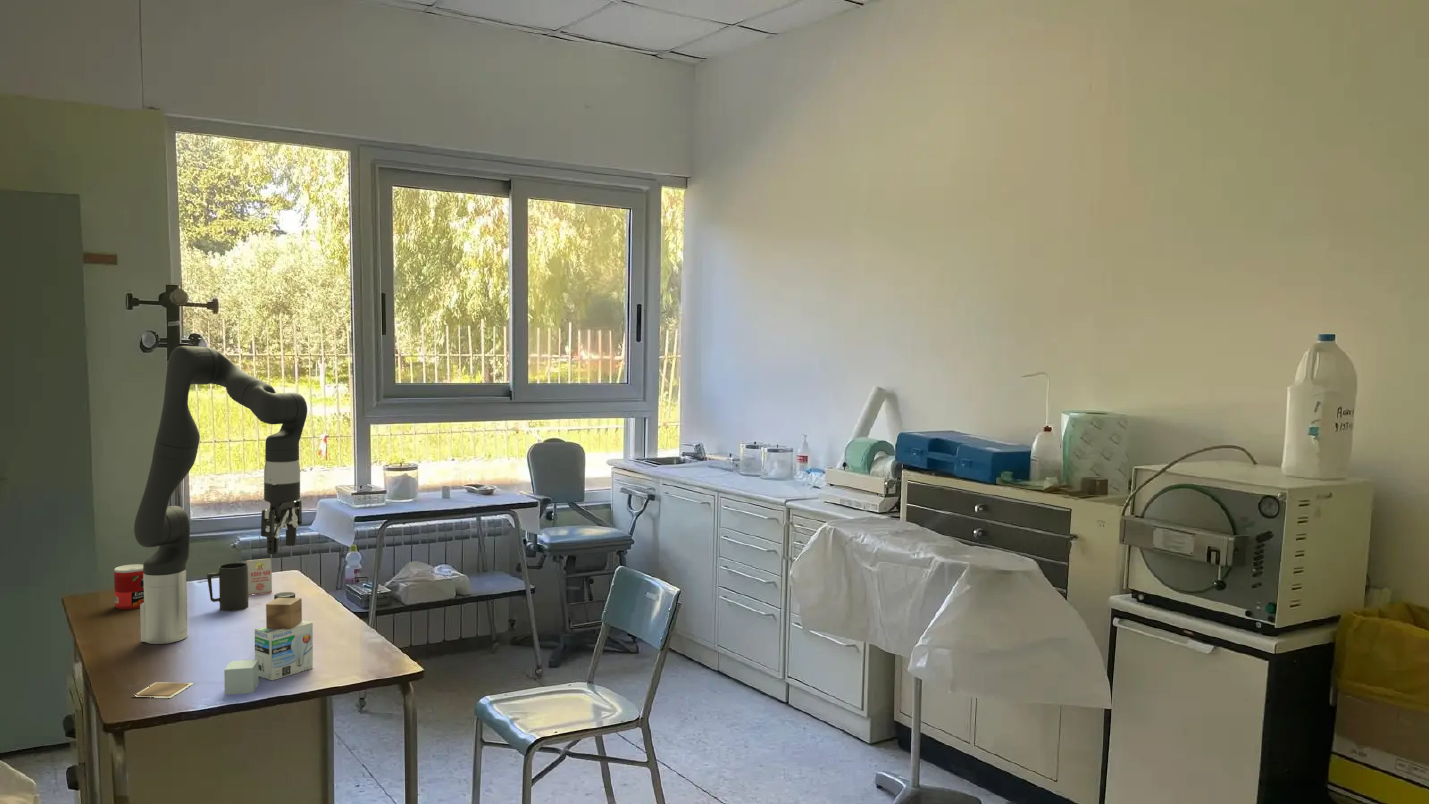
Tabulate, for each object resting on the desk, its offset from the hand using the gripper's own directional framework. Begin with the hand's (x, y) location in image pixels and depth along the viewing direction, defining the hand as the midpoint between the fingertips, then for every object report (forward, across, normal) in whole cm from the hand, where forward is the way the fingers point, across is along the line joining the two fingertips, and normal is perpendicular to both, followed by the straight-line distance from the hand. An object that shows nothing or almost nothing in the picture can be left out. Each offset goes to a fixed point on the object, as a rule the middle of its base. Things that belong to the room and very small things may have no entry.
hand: (282, 549), depth 215 cm
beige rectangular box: (+29, -60, -37) cm, 77 cm away
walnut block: (+16, +4, +2) cm, 17 cm away
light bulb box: (+27, +4, +3) cm, 28 cm away
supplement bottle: (+28, -17, -8) cm, 33 cm away
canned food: (+29, -44, -65) cm, 84 cm away
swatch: (+27, +17, -17) cm, 37 cm away
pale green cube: (+27, +15, -1) cm, 31 cm away
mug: (+28, -43, -37) cm, 64 cm away
